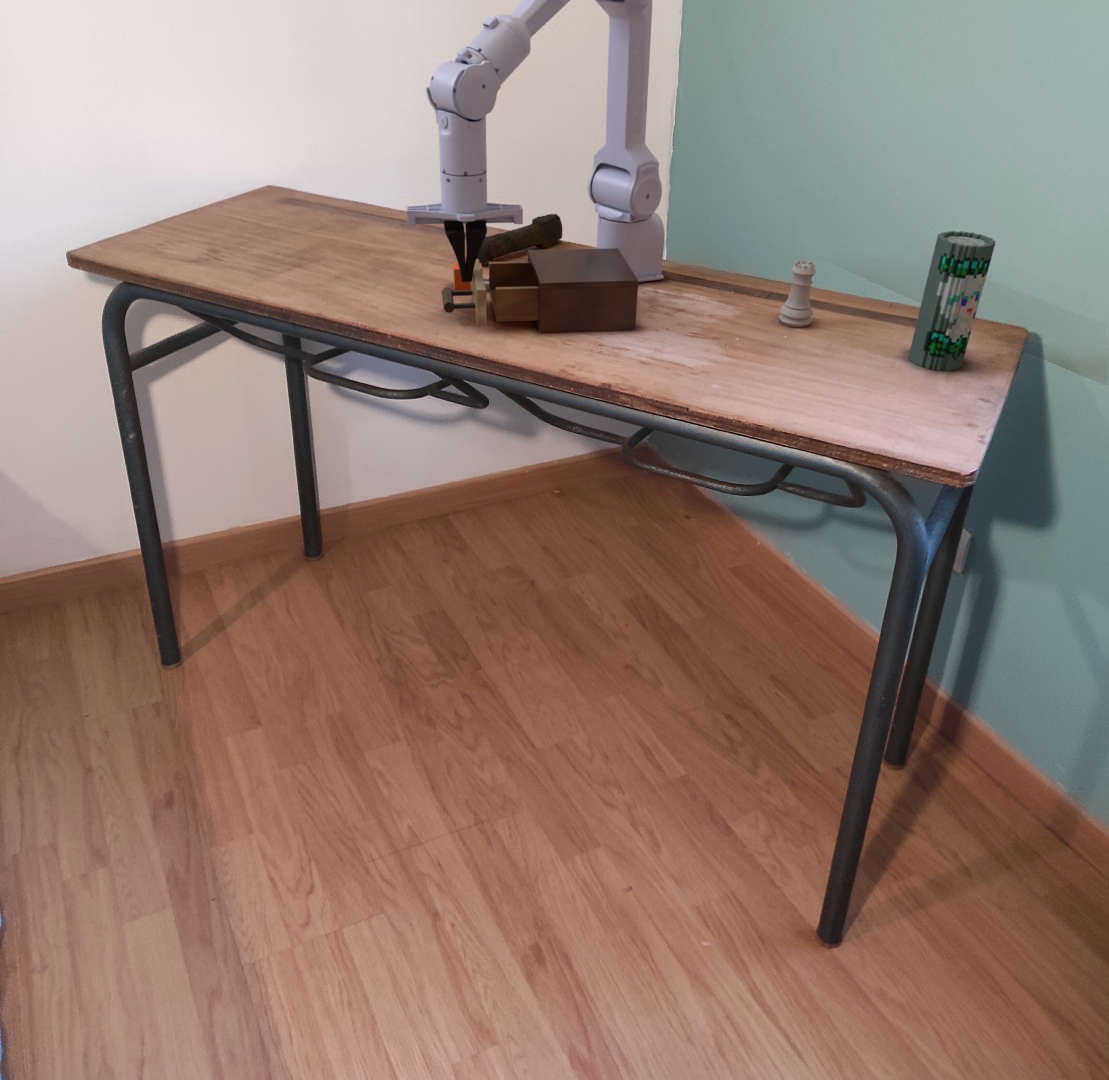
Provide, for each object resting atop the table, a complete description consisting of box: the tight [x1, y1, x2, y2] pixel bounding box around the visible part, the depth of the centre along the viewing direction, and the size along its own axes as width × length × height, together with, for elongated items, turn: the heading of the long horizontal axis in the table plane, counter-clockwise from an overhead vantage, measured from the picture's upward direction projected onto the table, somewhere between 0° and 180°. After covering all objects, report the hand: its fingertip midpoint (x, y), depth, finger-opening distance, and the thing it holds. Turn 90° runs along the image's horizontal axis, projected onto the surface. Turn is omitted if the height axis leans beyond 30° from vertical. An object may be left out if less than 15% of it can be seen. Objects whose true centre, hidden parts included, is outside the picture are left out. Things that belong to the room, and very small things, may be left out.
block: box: [452, 263, 489, 291], centre depth 137 cm, size 6×2×3 cm, turn 98°
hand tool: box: [476, 213, 563, 266], centre depth 151 cm, size 19×4×5 cm, turn 135°
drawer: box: [441, 259, 540, 327], centre depth 127 cm, size 16×12×5 cm
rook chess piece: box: [778, 259, 817, 328], centre depth 127 cm, size 4×4×8 cm
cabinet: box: [527, 248, 640, 334], centre depth 129 cm, size 13×14×7 cm
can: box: [907, 230, 996, 372], centre depth 115 cm, size 6×6×15 cm
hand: (466, 279), depth 126 cm, fingers closed
